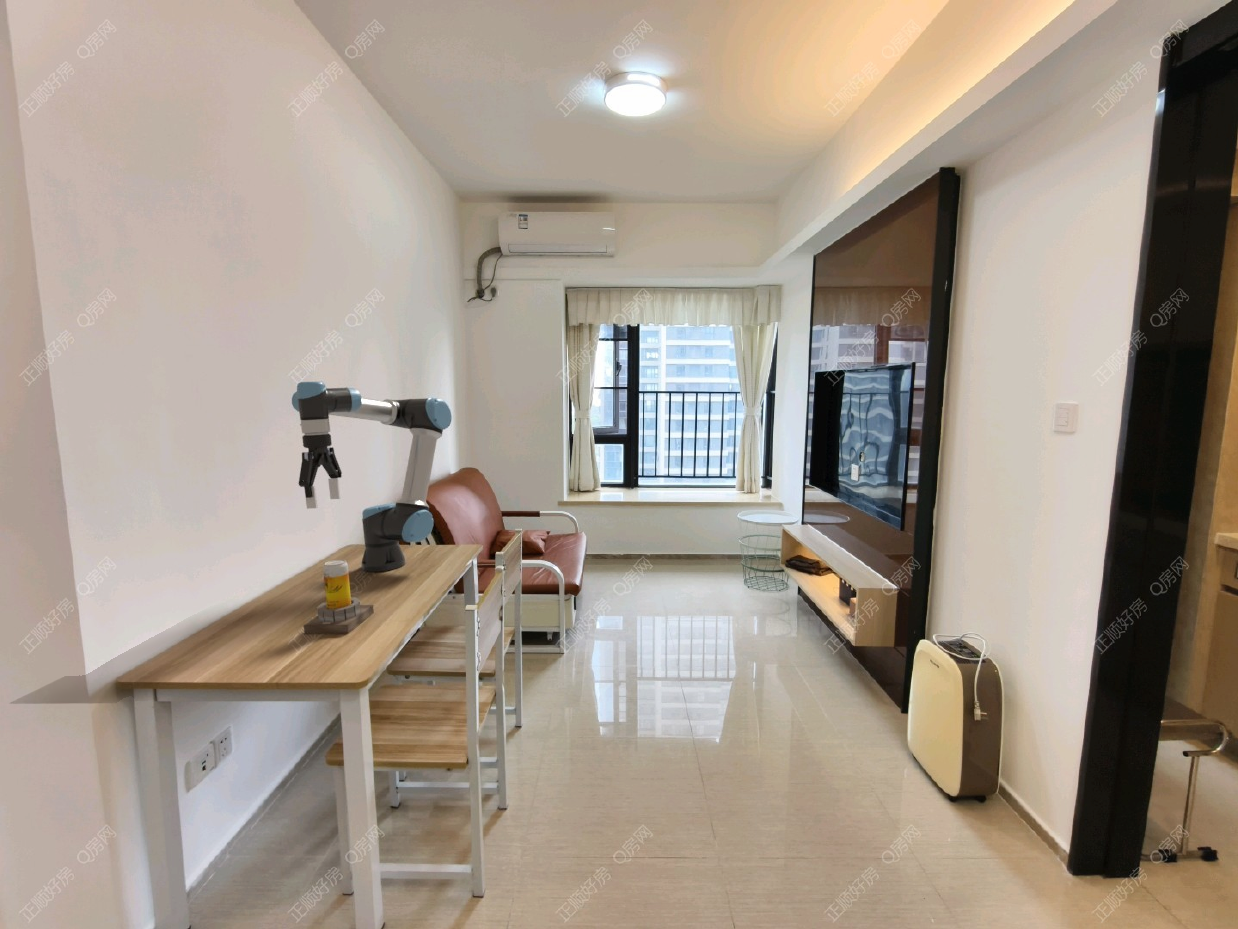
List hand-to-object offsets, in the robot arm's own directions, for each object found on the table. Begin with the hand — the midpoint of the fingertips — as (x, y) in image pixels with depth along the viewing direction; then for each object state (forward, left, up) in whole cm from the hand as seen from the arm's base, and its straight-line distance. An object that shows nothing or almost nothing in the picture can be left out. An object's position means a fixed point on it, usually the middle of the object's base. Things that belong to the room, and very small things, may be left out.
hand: (324, 503), depth 167 cm
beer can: (+17, +12, -29) cm, 35 cm away
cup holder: (+17, +12, -31) cm, 37 cm away
